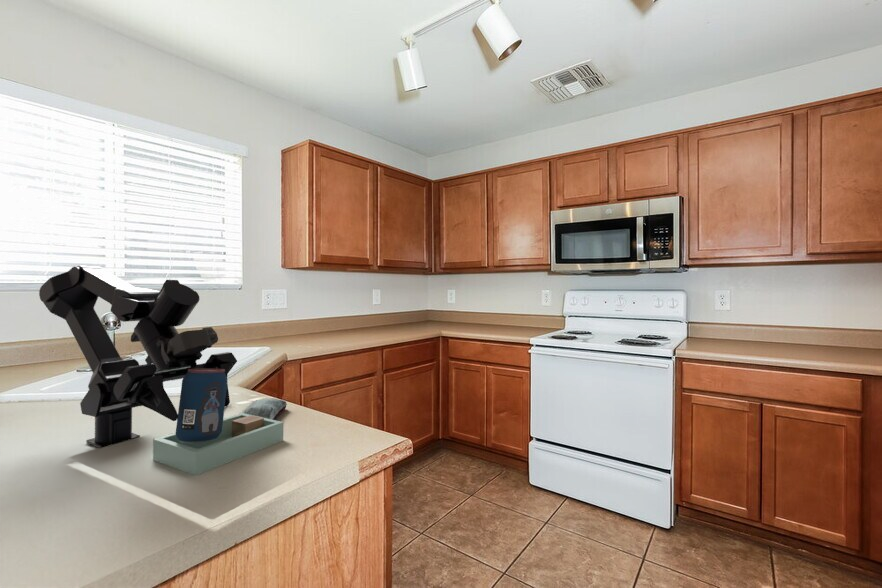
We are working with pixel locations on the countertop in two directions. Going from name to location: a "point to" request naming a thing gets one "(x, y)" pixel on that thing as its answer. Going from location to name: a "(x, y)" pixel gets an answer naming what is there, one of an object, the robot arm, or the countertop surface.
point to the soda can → (201, 405)
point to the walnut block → (246, 425)
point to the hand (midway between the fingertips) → (203, 411)
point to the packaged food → (266, 408)
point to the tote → (215, 446)
